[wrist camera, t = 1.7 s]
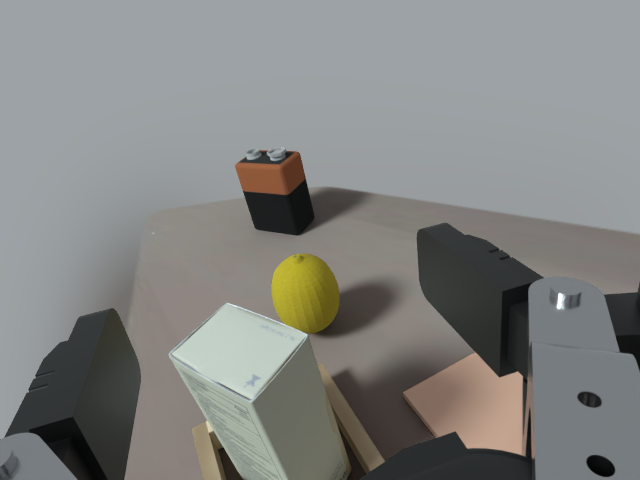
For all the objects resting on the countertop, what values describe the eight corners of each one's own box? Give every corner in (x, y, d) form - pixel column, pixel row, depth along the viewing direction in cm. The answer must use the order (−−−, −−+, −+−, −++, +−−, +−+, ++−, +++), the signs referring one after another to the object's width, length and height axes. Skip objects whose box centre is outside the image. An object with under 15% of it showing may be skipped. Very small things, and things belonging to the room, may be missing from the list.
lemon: (294, 306, 41) (273, 237, 37) (351, 307, 39) (336, 235, 35) (276, 351, 37) (250, 278, 32) (339, 355, 35) (321, 278, 31)
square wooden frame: (326, 380, 33) (321, 362, 32) (410, 514, 24) (407, 496, 23) (201, 445, 31) (191, 428, 30) (244, 621, 22) (232, 607, 21)
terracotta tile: (512, 336, 33) (513, 331, 33) (644, 440, 25) (647, 434, 25) (403, 397, 31) (402, 392, 30) (513, 535, 23) (513, 530, 22)
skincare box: (354, 470, 27) (316, 333, 21) (312, 539, 24) (253, 406, 18) (279, 426, 31) (228, 297, 24) (236, 481, 28) (164, 352, 21)
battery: (298, 237, 51) (278, 159, 46) (253, 230, 55) (230, 157, 49) (316, 218, 54) (299, 142, 49) (272, 213, 58) (252, 142, 52)
